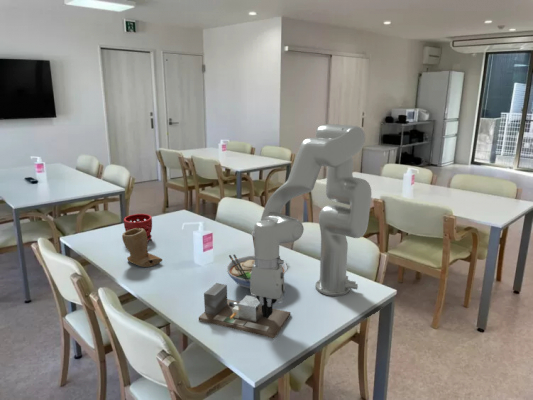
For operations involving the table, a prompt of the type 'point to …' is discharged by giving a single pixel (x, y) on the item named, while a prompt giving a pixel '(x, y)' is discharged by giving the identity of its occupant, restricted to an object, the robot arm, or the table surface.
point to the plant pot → (139, 223)
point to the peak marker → (235, 312)
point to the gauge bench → (221, 313)
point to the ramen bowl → (243, 269)
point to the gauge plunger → (248, 308)
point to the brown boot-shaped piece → (139, 248)
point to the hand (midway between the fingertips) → (267, 315)
